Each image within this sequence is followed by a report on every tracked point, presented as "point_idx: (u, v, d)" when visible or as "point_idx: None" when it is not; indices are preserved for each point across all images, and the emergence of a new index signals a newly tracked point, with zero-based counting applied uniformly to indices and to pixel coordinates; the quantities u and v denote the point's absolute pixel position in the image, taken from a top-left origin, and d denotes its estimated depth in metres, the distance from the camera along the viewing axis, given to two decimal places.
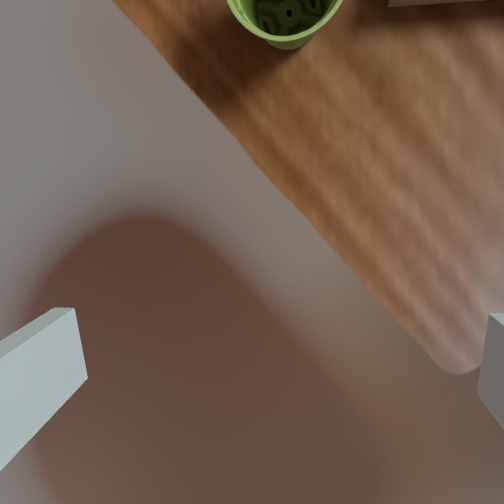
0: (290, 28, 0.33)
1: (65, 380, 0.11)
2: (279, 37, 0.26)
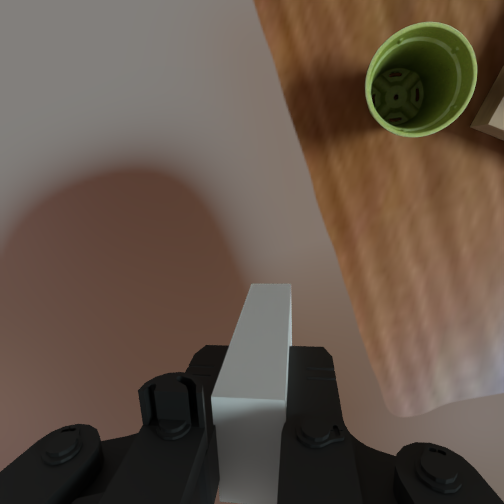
0: (391, 109, 0.39)
1: None
2: (391, 129, 0.33)
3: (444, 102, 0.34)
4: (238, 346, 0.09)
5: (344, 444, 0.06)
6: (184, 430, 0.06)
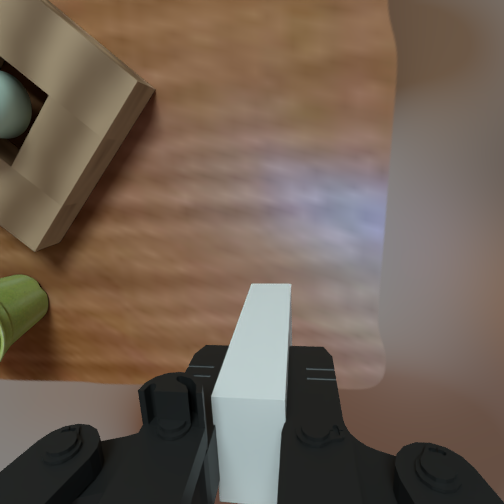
0: None
1: None
2: None
3: None
4: (238, 346, 0.09)
5: (344, 444, 0.06)
6: (184, 430, 0.06)
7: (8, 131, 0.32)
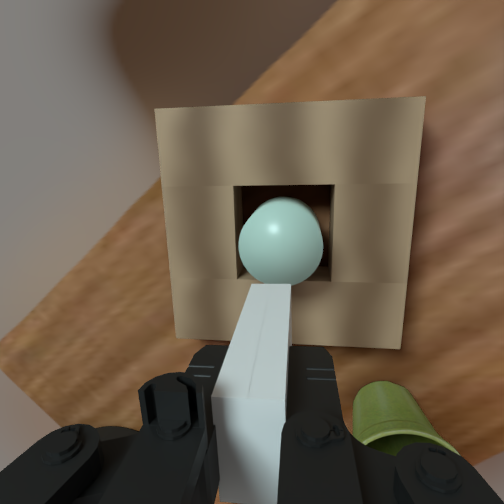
0: None
1: None
2: None
3: None
4: (238, 346, 0.09)
5: (344, 444, 0.06)
6: (184, 430, 0.06)
7: None
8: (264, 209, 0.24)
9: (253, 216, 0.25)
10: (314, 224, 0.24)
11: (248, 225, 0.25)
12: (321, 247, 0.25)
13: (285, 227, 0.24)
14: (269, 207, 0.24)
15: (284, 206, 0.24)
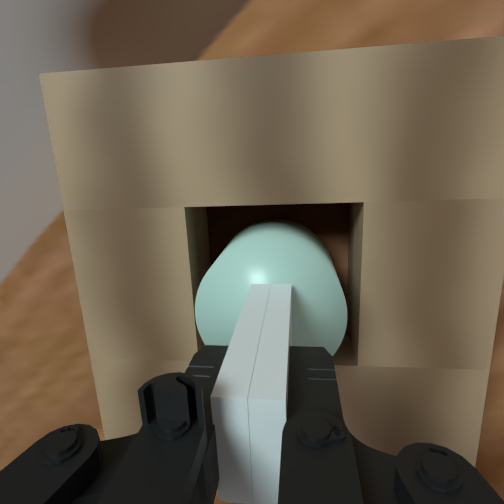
0: None
1: None
2: None
3: None
4: (237, 346, 0.09)
5: (345, 444, 0.06)
6: (183, 430, 0.06)
7: None
8: (238, 250, 0.13)
9: (219, 262, 0.13)
10: (331, 276, 0.13)
11: (210, 278, 0.14)
12: (344, 316, 0.13)
13: (278, 282, 0.13)
14: (247, 246, 0.13)
15: (275, 244, 0.13)
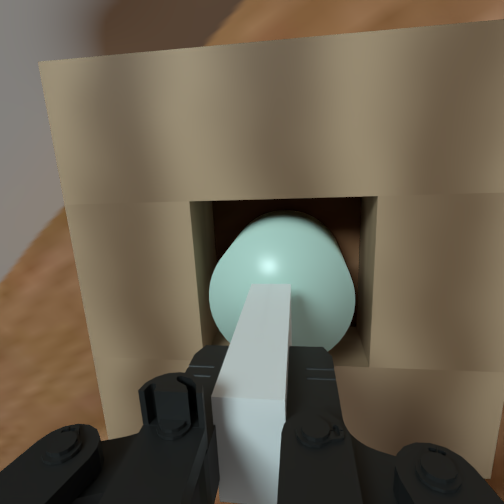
0: None
1: None
2: None
3: None
4: (238, 346, 0.09)
5: (344, 444, 0.06)
6: (184, 430, 0.06)
7: None
8: (251, 237, 0.14)
9: (232, 249, 0.14)
10: (339, 262, 0.14)
11: (224, 264, 0.14)
12: (352, 301, 0.14)
13: (289, 268, 0.14)
14: (260, 233, 0.14)
15: (286, 231, 0.14)
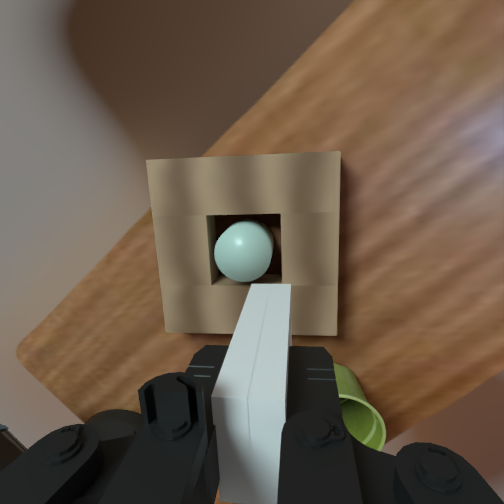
0: None
1: None
2: (383, 438, 0.37)
3: None
4: (238, 346, 0.09)
5: (344, 444, 0.06)
6: (184, 430, 0.06)
7: None
8: (230, 229, 0.36)
9: (223, 234, 0.36)
10: (264, 239, 0.36)
11: (220, 240, 0.37)
12: (270, 254, 0.36)
13: (245, 241, 0.36)
14: (234, 228, 0.36)
15: (244, 227, 0.36)
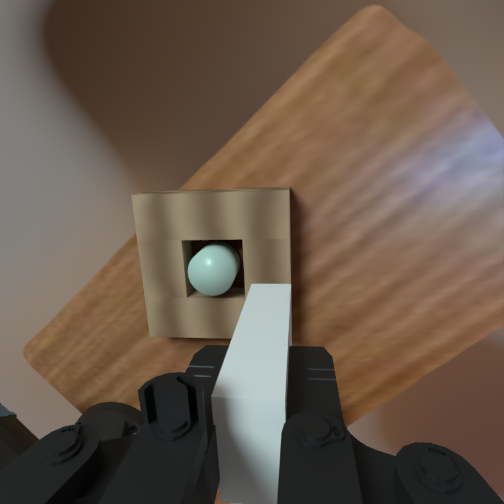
0: None
1: None
2: None
3: None
4: (238, 346, 0.09)
5: (344, 444, 0.06)
6: (184, 430, 0.06)
7: (237, 271, 0.47)
8: (200, 252, 0.44)
9: (195, 256, 0.44)
10: (228, 260, 0.44)
11: (192, 261, 0.44)
12: (233, 273, 0.44)
13: (213, 262, 0.44)
14: (203, 251, 0.44)
15: (211, 251, 0.44)
